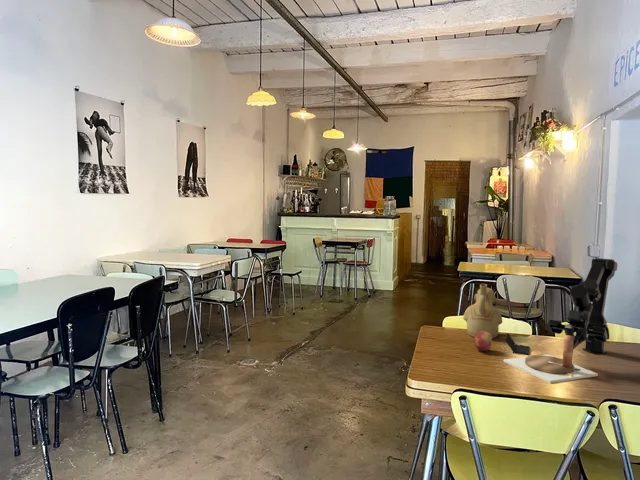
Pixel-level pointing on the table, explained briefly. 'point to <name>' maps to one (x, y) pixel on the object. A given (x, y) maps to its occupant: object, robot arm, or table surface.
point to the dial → (554, 360)
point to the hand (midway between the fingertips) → (571, 349)
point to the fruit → (483, 341)
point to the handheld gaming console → (517, 346)
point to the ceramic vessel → (483, 313)
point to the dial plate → (550, 377)
